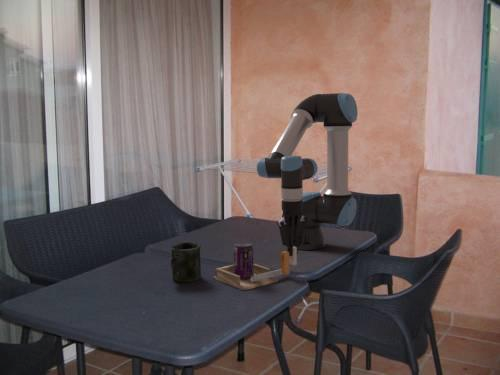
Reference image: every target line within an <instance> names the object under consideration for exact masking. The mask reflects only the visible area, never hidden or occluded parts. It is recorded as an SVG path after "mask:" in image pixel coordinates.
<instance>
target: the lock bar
mask: <svg viewBox="0 0 500 375" xmlns="http://www.w3.org/2000/svg"><path fill="white" fill-rule="evenodd" d="M279 256H280V257H279V258H280V268H279V269H275V270H270V272H266V273H262V274H258V275H254V276H251V282H257V281H261V280H265V279H269V278H277V277H279V276H280V277H281V276H286V275H290V264H289V252H287V251H286V250H284V251H280V255H279Z"/></svg>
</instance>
